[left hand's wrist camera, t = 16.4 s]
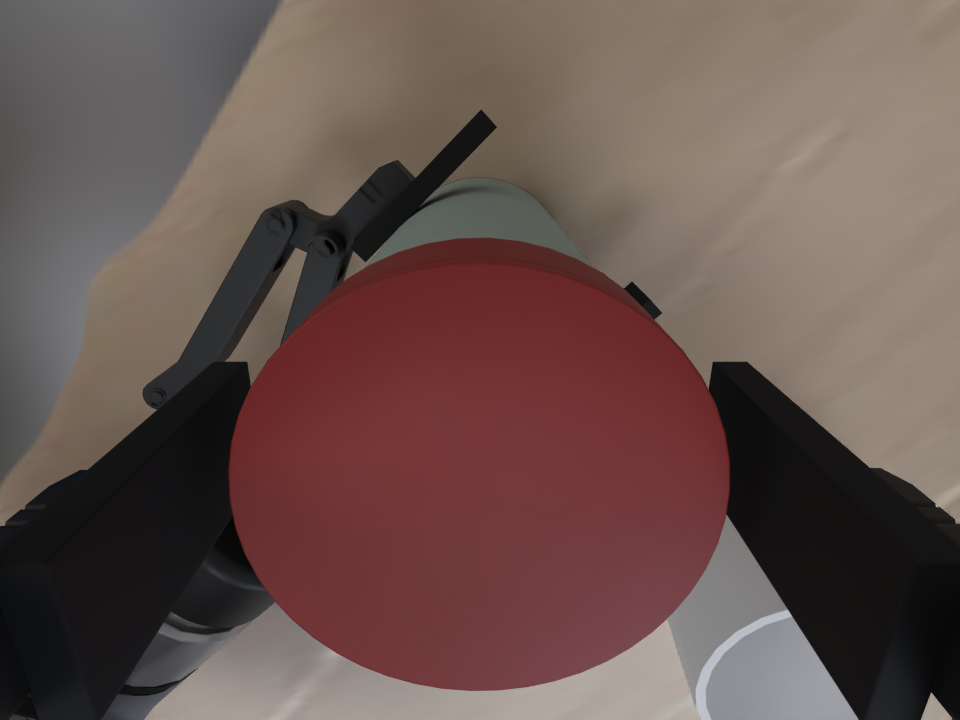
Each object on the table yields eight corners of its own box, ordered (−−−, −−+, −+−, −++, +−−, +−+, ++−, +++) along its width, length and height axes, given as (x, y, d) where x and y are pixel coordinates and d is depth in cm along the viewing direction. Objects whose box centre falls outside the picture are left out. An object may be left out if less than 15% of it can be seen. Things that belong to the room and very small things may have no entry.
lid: (539, 137, 10) (555, 139, 8) (758, 487, 13) (814, 558, 11) (182, 399, 12) (117, 457, 10) (437, 660, 14) (429, 751, 12)
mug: (630, 594, 36) (684, 761, 27) (641, 469, 33) (707, 607, 24) (810, 591, 36) (929, 757, 27) (838, 465, 33) (985, 602, 23)
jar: (596, 249, 29) (800, 455, 11) (493, 371, 31) (511, 714, 13) (464, 139, 27) (431, 157, 9) (364, 277, 29) (172, 520, 11)
